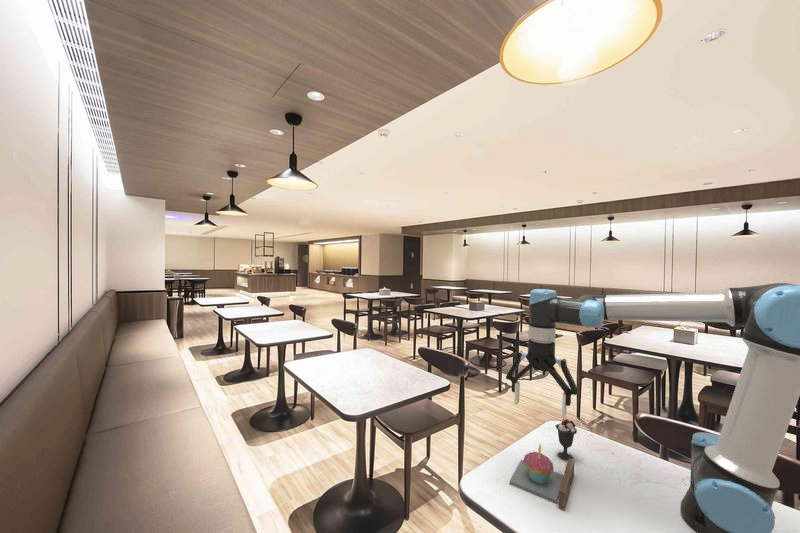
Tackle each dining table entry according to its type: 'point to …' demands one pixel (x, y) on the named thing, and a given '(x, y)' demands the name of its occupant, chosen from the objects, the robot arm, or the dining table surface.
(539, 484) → the board
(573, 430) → the sundae
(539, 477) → the cupcake
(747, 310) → the robot arm
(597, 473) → the dining table surface
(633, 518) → the dining table surface
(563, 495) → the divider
